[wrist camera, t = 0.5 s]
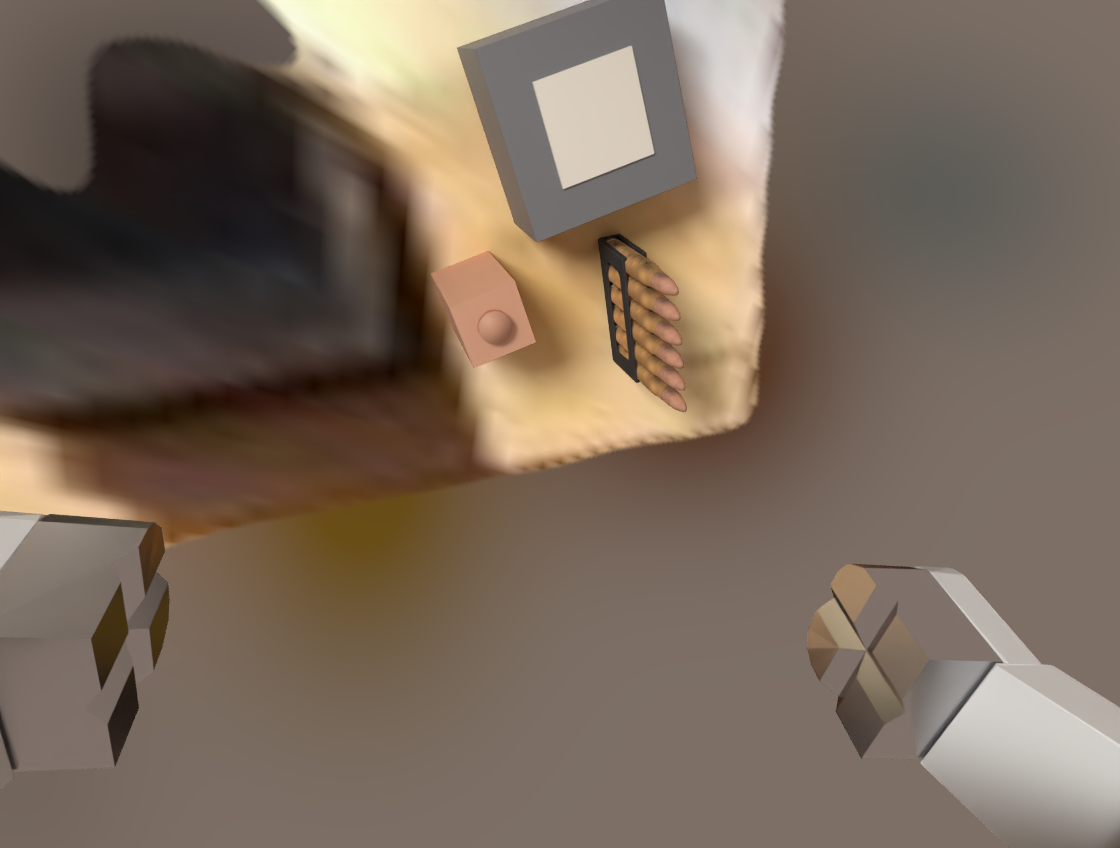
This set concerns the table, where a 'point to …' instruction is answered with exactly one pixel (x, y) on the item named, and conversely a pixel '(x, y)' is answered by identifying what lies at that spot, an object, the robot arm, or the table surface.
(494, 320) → the block
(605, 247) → the ammunition clip
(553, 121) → the base block
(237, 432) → the table surface
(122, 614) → the robot arm
